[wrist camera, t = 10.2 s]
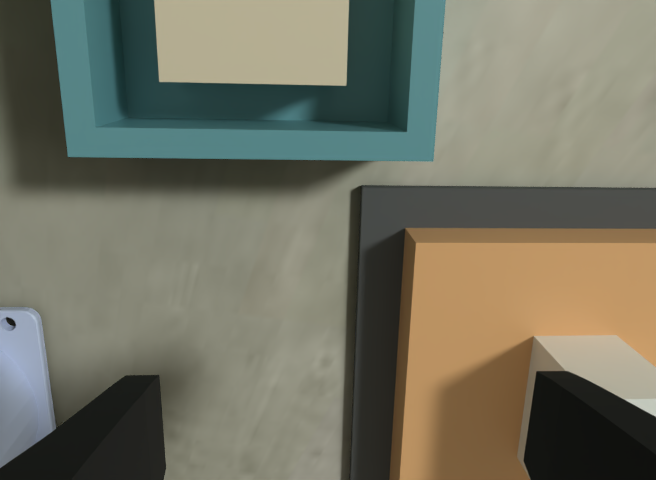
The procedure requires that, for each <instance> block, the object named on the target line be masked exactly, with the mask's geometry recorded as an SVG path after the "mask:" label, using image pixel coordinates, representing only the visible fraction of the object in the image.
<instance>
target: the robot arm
mask: <svg viewBox="0 0 656 480" xmlns="http://www.w3.org/2000/svg"><path fill="white" fill-rule="evenodd" d="M6 317H9V318H12V319H13V320H14V321H15V323H16V326H12V325H10V324H8V323H7V321H6ZM523 461H524V464H525V466H526V469H527V471H528V474H529V477H530V479H531V480H656V417H655V416H654V415H652V414H650V413H648V412H646V411H644V410H642V409H641V408H639V407H637V406H635V405H633V404H631V403H630V402H628V401H626V400H624V399H622V398H620V397H619V396H617V395H615V394H613V393H611V392H609V391H608V390H606V389H604V388H602V387H600V386H598V385H596V384H594V383H592V382H590V381H588V380H586V379H584V378H582V377H580V376H578V375H576V374H573V373H571V372H569V371H536V377H535V384H534V391H533V398H532V404H531V411H530V418H529V425H528V432H527V439H526V446H525V453H524V460H523ZM165 470H166V462H165V448H164V434H163V420H162V407H161V393H160V379H159V375H133V376H125V377H123V378H122V379H120V380H119V381H117V382H116V383H115V384H113V385H112V386H111V387H109V388H108V389H107V390H106V391H104V392H103V393H102V394H100V395H99V396H98V397H97V398H95V399H94V400H93V401H92V402H90V403H89V404H88V405H86V406H85V407H84V408H83V409H81V410H80V411H79V412H77V413H76V414H75V415H73V416H72V417H71V418H70V419H68V420H67V421H66V422H64V423H63V424H62V425H60V426H59V427H58V428H56V424H55V416H54V409H53V402H52V394H51V387H50V379H49V372H48V365H47V357H46V350H45V342H44V335H43V328H42V320H41V317H40V315H39V314H38V312H37V311H35V310H34V309H32V308H28V307H0V480H164V475H165Z"/></svg>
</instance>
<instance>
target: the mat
mask: <svg viewBox="0 0 656 480" xmlns="http://www.w3.org/2000/svg"><path fill="white" fill-rule="evenodd" d="M405 228H564V229H656V188H598V187H487V186H377V185H361V204H360V230H359V255H358V280H357V306H356V331H355V356H354V382H353V407H352V432H351V458H350V480H389V478H390V462H391V446H392V431H393V415H394V399H395V383H396V367H397V351H398V335H399V320H400V304H401V288H402V272H403V256H404V240H405Z"/></svg>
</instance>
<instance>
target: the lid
mask: <svg viewBox="0 0 656 480" xmlns="http://www.w3.org/2000/svg"><path fill="white" fill-rule="evenodd" d="M536 371H569V372H571V373H573V374H576V375H578V376H580V377H582V378H584V379H586V380H588V381H590V382H592V383H594V384H596V385H598V386H600V387H602V388H604V389H606V390H608V391H609V392H611V393H613V394H615V395H617V396H619V397H620V398H622V399H624V400H626V401H628V402H630V403H631V404H633V405H635V406H637V407H639V408H641V409H642V410H644V411H646V412H648V413H650V414H652V415H654V416H655V417H656V229H564V228H405V240H404V256H403V272H402V288H401V304H400V320H399V335H398V351H397V367H396V383H395V399H394V415H393V431H392V446H391V462H390V478H389V480H531V479H530V477H529V474H528V471H527V469H526V466H525V464H524V461H523V460H524V453H525V446H526V439H527V432H528V425H529V418H530V411H531V404H532V398H533V391H534V384H535V377H536Z"/></svg>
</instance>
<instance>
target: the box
mask: <svg viewBox="0 0 656 480" xmlns="http://www.w3.org/2000/svg"><path fill="white" fill-rule="evenodd" d="M51 9H52V18H53V27H54V36H55V45H56V54H57V63H58V72H59V81H60V90H61V99H62V108H63V117H64V126H65V135H66V144H67V153H68V157H108V158H191V159H275V160H358V161H433V159H434V146H435V132H436V119H437V106H438V93H439V80H440V66H441V53H442V40H443V27H444V14H445V0H51Z"/></svg>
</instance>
